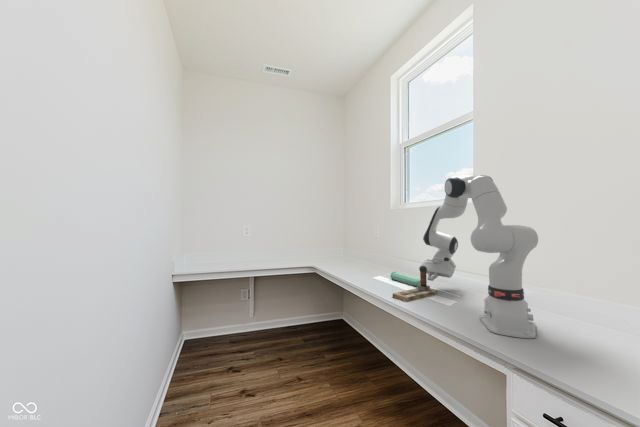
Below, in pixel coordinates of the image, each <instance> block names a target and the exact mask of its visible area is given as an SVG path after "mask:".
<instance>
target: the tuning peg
mask: <svg viewBox="0 0 640 427" xmlns="http://www.w3.org/2000/svg"><path fill="white" fill-rule="evenodd" d="M420 266H421V265H420ZM420 266H419V267H420ZM418 270H419V274H420V278H419V279H420V282H421V285H419V286H417V289H418V290H422V291H426V290H429V291H432V290H433V289H432V290H430V289H431V285H427V281H428V279H427V274H426V271H427V268H426V267H425V266H421V267H420V268H418Z"/></svg>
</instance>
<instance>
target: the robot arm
mask: <svg viewBox="0 0 640 427" xmlns="http://www.w3.org/2000/svg"><path fill="white" fill-rule="evenodd" d="M444 192H445V197H444V201H443V203H442V205H439V206H437V207H436V208H435V211H434V212H433V214H432V216H431V219H430V222H429V225H428V227H427V229H426V231H425V233H424V235H423V236H422V237H423V242H424V243H425V245H427V246H430V247H432V248H437V251H436V253H435V254H434V255H433V258H432V259H426V260H424V261H423V262H422V263H421V264H420V266H419V268H420V267H421V266H425V267H426V268H427V271H426V275H427V276H428V277H426V280H427V281H431V282H434V280H435V279H437V278H438V277H442V278H443V277H444V278H449V279H450V278H452V277H453V275H454V273H455V270H456V268H457V265H456V264H455V263H454V261H453V260H452V257H454V254H456V251H457V249H458V247H459V241H458V239H457V238H456V236H453V235H452V234H448V233H446V232H445V233H444V232H442V231H439V230H438V229H437V228H438V226H439V223H440V220H442V219H443V220H444V219H455V218H459V217H462V215H463V214H464V213H465V211H466V208H467V206H468V200H469V199H471V201H472V204H473V206H474V210H475V212H476V215H477V225H476V227H475V228H474V230H473V231H472V232H471V235H470V243H471V245H472V247H473V248H474V250H476V251H477V252H481V253H488V254H497V253H499V256H498V257H497V259H496V260H495V261H494V262H492V263H491V264H490V265H489V267H488V281H489V283H488V286H487V291H488V295H487V297H485V298H484V301H483V302H484V311H483V312H484V313H483V314H484V315H480V316H479V320H480V321H481V322H482V324H483V325H484V327H486V329H487V330H488V331H489V332H491V333H494V334H498V335H501V336H506V337H507V336H508V337H512V338H513V337H514V338H522V339H535V338H537V331H536V330H537V326H536V322H535V321H534V314H532V313H531V311H532V310H531V308H530V307H529V303H528V302H527V300H525V292H524V288H523V267H524V264H525V261H526V259H527V257H528V256H529V254H530V253H531V251H532V250H535V248H537V246H538V243H539V235H538V233H537V232H536V230H535V229H534V228H532V227H530V226H527V225H526V226H525V225H521V224H507V225H504V224H503V223H502V218H503V217H504V216H505V215H506V213H507V211H508V207H507V205H506V203H505V200H504V198H503V197H502V194H501V192H500V190H499V188H498V186H497V185H496V183H495V182H494V180H493V178H492V177H491V176H488V175H484V174H481V175H476V174H475V175H473V174H471V175H470V174H465V175H458V176H457V175H455V176H451V177H448V178H447V179H446V181H445V183H444ZM419 268H418V269H419ZM530 313H531V314H530Z"/></svg>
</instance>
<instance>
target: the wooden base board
mask: <svg viewBox="0 0 640 427" xmlns="http://www.w3.org/2000/svg"><path fill="white" fill-rule="evenodd" d="M430 290H432V291H429V290H426V291H422V290H418V289H417V288H411V289H408V290H407V289H406V290H401V291H398V292H394V293H392V298H393V299H398V300H401V301H402V302H403V301H404V302H406V303H407V302H412V301H415V300H420V299H424V298H428V297H431V296H436V295H438V290H435V289H432V288H430Z"/></svg>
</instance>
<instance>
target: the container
mask: <svg viewBox="0 0 640 427" xmlns="http://www.w3.org/2000/svg"><path fill="white" fill-rule="evenodd" d="M390 279H391V280H393V281H394V280H395V281H396V282H401V283H403V284H406V285H411V286H413V287H417V286H419V285H421V282H420V278H417V277H412V276H409V275H406V274H402V273H399V272H397V271H392V272H391V273H390Z"/></svg>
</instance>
